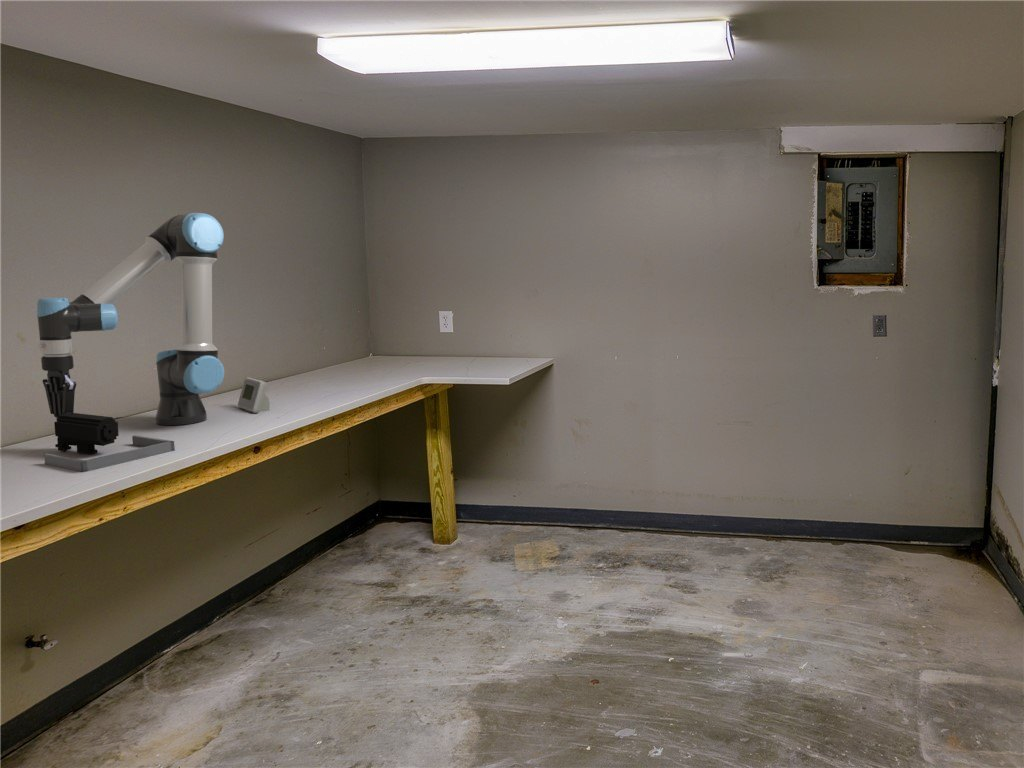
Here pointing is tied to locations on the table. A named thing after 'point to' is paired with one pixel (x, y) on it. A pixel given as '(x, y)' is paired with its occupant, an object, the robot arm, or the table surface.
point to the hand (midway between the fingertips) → (64, 440)
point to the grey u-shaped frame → (114, 455)
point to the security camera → (84, 432)
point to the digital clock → (254, 396)
